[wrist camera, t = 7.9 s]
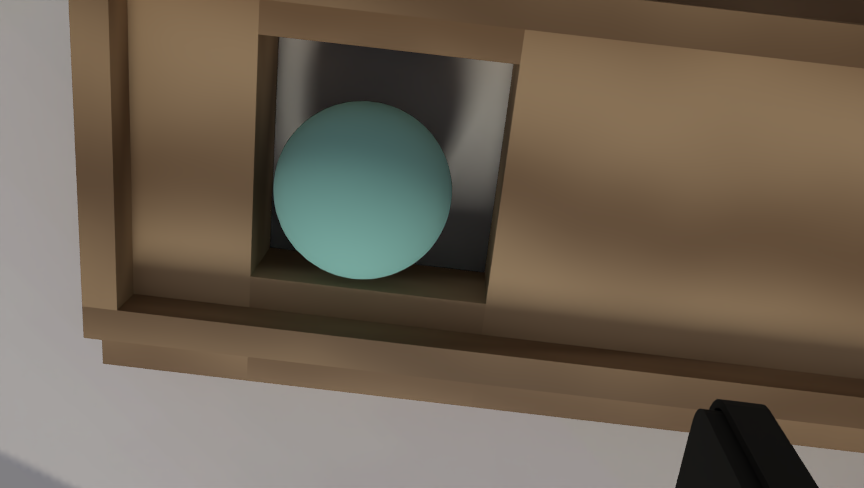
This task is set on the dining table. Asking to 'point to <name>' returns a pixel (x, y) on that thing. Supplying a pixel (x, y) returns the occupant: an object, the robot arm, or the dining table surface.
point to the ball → (362, 190)
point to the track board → (501, 209)
